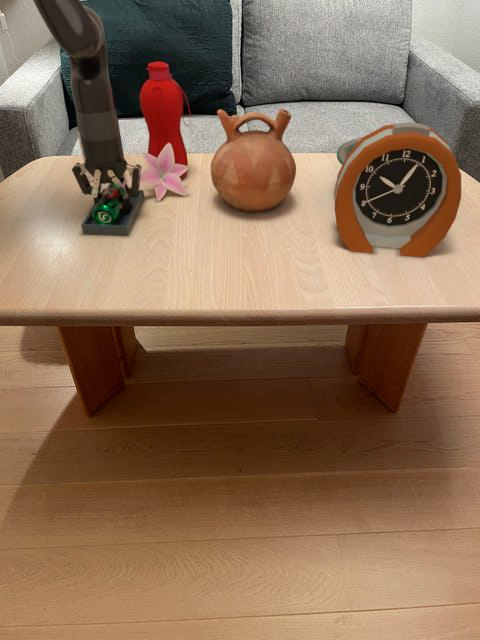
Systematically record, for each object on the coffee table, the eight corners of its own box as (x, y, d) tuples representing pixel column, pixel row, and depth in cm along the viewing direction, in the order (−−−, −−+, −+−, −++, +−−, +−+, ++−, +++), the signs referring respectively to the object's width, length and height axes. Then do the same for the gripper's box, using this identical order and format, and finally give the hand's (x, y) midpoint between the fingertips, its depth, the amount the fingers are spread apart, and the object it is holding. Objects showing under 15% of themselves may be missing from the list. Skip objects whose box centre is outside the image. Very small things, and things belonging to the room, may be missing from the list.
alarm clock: (329, 249, 92) (347, 132, 77) (329, 224, 99) (346, 112, 84) (446, 259, 89) (488, 140, 74) (437, 232, 97) (474, 119, 82)
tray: (127, 235, 95) (126, 226, 94) (83, 234, 95) (81, 225, 94) (144, 198, 107) (143, 190, 106) (105, 197, 107) (103, 188, 106)
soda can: (120, 215, 93) (134, 188, 102) (96, 202, 91) (113, 176, 100) (110, 233, 96) (124, 206, 105) (87, 220, 94) (104, 193, 103)
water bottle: (192, 183, 113) (184, 69, 96) (147, 182, 113) (132, 68, 97) (196, 167, 120) (190, 58, 103) (153, 166, 120) (141, 57, 104)
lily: (130, 203, 107) (136, 175, 99) (136, 164, 112) (142, 135, 104) (181, 215, 111) (191, 189, 103) (184, 177, 116) (194, 149, 108)
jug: (211, 222, 99) (207, 125, 86) (212, 184, 113) (209, 95, 100) (297, 220, 100) (307, 125, 87) (288, 183, 113) (295, 95, 100)
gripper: (141, 126, 92) (151, 204, 103) (69, 124, 92) (87, 202, 104) (132, 140, 86) (144, 222, 98) (56, 138, 87) (76, 219, 98)
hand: (114, 211), depth 101 cm, fingers closed on soda can, 5 cm apart
